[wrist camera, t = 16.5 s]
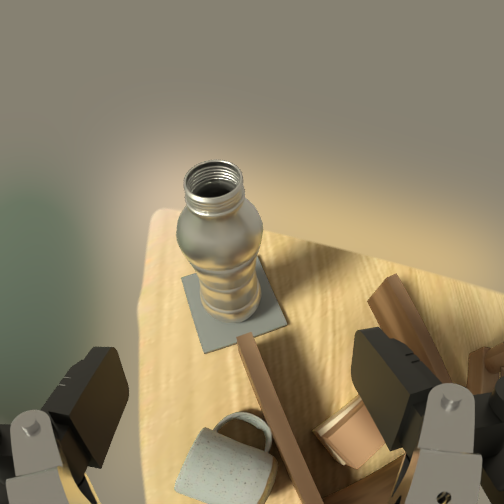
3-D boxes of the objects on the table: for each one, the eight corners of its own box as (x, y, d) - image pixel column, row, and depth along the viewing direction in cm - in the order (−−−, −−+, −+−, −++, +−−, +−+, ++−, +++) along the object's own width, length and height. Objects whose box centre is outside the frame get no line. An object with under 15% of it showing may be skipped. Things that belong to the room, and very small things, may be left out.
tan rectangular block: (389, 365, 31) (412, 354, 26) (412, 396, 29) (439, 390, 24) (310, 430, 28) (323, 432, 23) (337, 463, 26) (354, 471, 20)
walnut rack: (376, 296, 36) (417, 246, 26) (442, 438, 25) (506, 433, 15) (238, 351, 33) (232, 317, 22) (307, 515, 22) (334, 556, 12)
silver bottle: (264, 324, 34) (278, 211, 17) (205, 331, 33) (157, 227, 16) (256, 274, 37) (259, 141, 20) (201, 281, 36) (162, 153, 19)
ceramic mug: (254, 507, 23) (256, 529, 16) (182, 482, 24) (164, 497, 18) (287, 425, 28) (298, 425, 22) (216, 401, 30) (206, 395, 23)
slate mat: (256, 256, 39) (256, 253, 39) (286, 325, 34) (287, 324, 34) (182, 279, 37) (181, 277, 37) (204, 354, 32) (203, 352, 32)
